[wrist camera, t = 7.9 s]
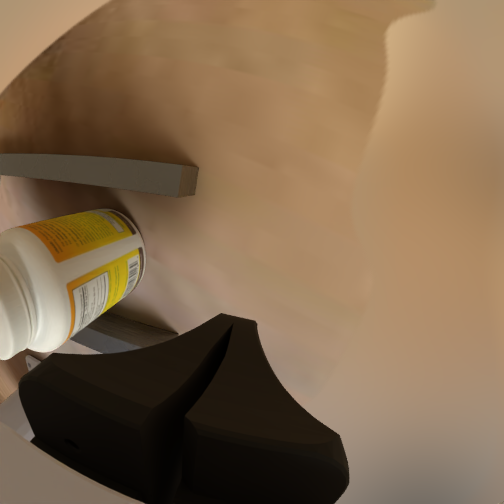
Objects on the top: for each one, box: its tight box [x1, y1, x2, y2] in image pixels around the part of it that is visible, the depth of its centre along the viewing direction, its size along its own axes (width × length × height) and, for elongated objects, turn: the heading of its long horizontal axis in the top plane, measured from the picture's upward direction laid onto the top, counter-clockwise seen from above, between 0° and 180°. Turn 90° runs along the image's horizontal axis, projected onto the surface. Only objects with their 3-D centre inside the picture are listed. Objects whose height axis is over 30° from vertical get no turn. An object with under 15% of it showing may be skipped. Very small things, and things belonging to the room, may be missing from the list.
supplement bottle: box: [0, 208, 146, 360], centre depth 12 cm, size 6×6×10 cm
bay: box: [0, 154, 199, 354], centre depth 16 cm, size 12×20×3 cm, turn 80°
